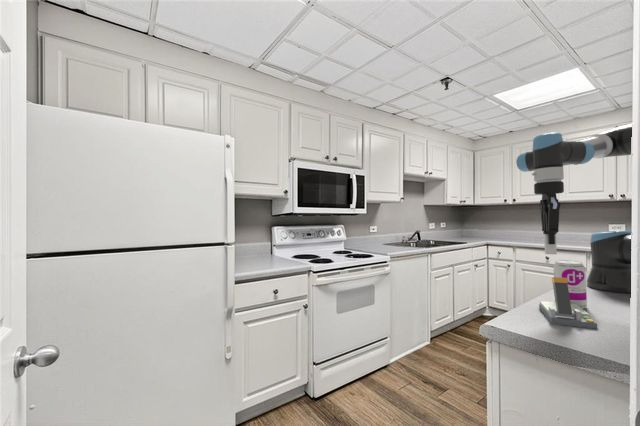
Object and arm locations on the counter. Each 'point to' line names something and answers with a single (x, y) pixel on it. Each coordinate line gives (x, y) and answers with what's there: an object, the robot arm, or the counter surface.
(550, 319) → the panel
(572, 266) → the supplement can
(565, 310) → the breaker lever
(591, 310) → the counter surface
